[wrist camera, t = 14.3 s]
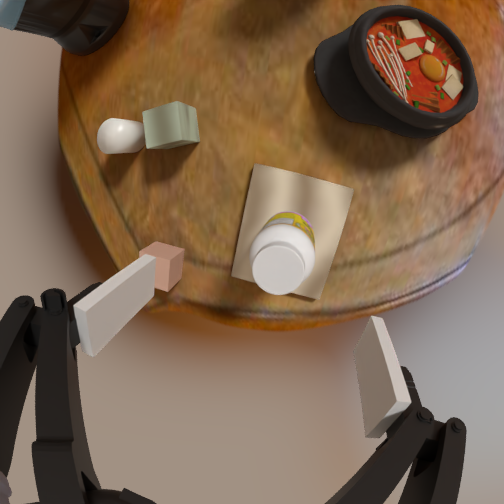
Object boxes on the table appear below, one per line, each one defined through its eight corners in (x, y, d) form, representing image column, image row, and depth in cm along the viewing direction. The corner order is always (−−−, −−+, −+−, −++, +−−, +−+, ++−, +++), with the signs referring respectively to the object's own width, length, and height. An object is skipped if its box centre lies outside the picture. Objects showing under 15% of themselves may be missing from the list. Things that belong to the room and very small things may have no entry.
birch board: (233, 272, 41) (231, 276, 40) (256, 163, 35) (254, 163, 34) (318, 295, 39) (319, 299, 38) (352, 188, 34) (354, 189, 33)
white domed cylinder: (119, 151, 38) (95, 152, 32) (124, 120, 36) (100, 118, 31) (144, 154, 37) (120, 155, 32) (149, 122, 36) (126, 118, 30)
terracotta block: (154, 269, 43) (138, 282, 39) (156, 241, 42) (139, 251, 37) (181, 278, 43) (167, 291, 38) (184, 248, 41) (170, 260, 37)
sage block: (168, 148, 37) (146, 148, 31) (164, 116, 35) (142, 111, 30) (200, 141, 36) (181, 139, 30) (195, 108, 34) (177, 101, 28)
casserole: (336, 152, 33) (345, 150, 25) (295, 30, 28) (291, 1, 20) (484, 133, 26) (517, 131, 19) (445, 23, 22) (468, 3, 14)
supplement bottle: (316, 256, 36) (318, 303, 24) (267, 261, 38) (247, 307, 26) (311, 206, 34) (312, 231, 22) (260, 212, 36) (234, 239, 24)
